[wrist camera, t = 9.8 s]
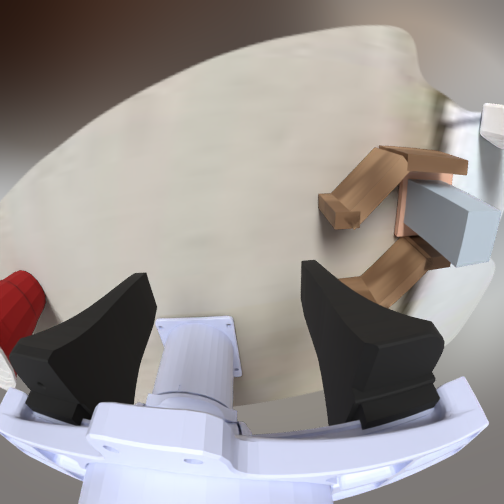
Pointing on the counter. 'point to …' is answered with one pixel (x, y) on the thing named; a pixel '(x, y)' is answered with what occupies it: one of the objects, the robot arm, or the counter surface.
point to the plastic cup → (17, 317)
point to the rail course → (368, 198)
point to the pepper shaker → (493, 124)
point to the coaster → (400, 226)
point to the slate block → (451, 221)
